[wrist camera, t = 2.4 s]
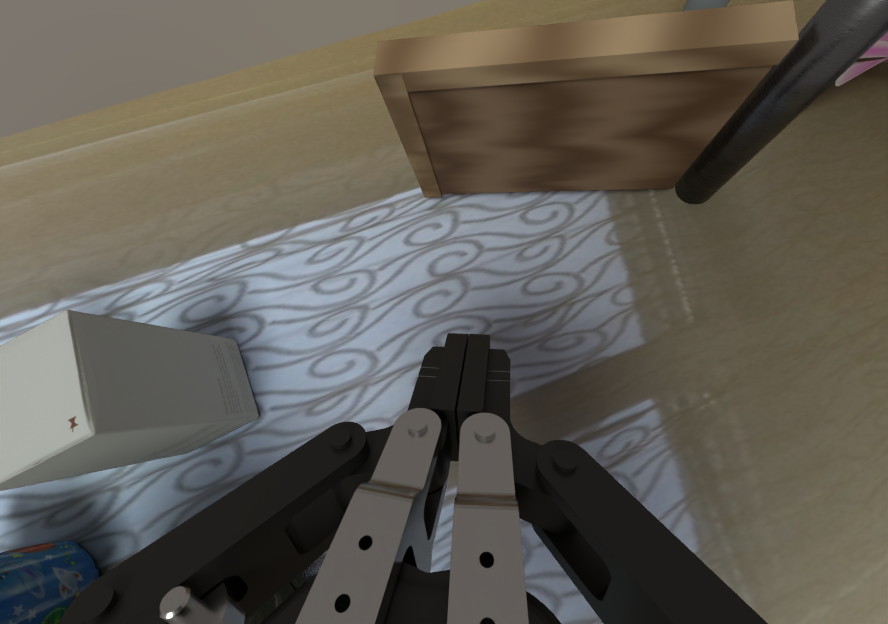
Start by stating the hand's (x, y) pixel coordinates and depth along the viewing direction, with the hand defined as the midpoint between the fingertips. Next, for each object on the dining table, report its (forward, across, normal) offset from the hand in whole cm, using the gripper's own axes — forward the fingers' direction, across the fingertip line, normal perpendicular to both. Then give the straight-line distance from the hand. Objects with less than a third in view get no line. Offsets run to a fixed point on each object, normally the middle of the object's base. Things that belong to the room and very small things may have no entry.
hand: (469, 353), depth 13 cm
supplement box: (+8, +23, +13) cm, 28 cm away
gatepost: (+21, -15, 0) cm, 26 cm away
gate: (+20, -4, -1) cm, 20 cm away
